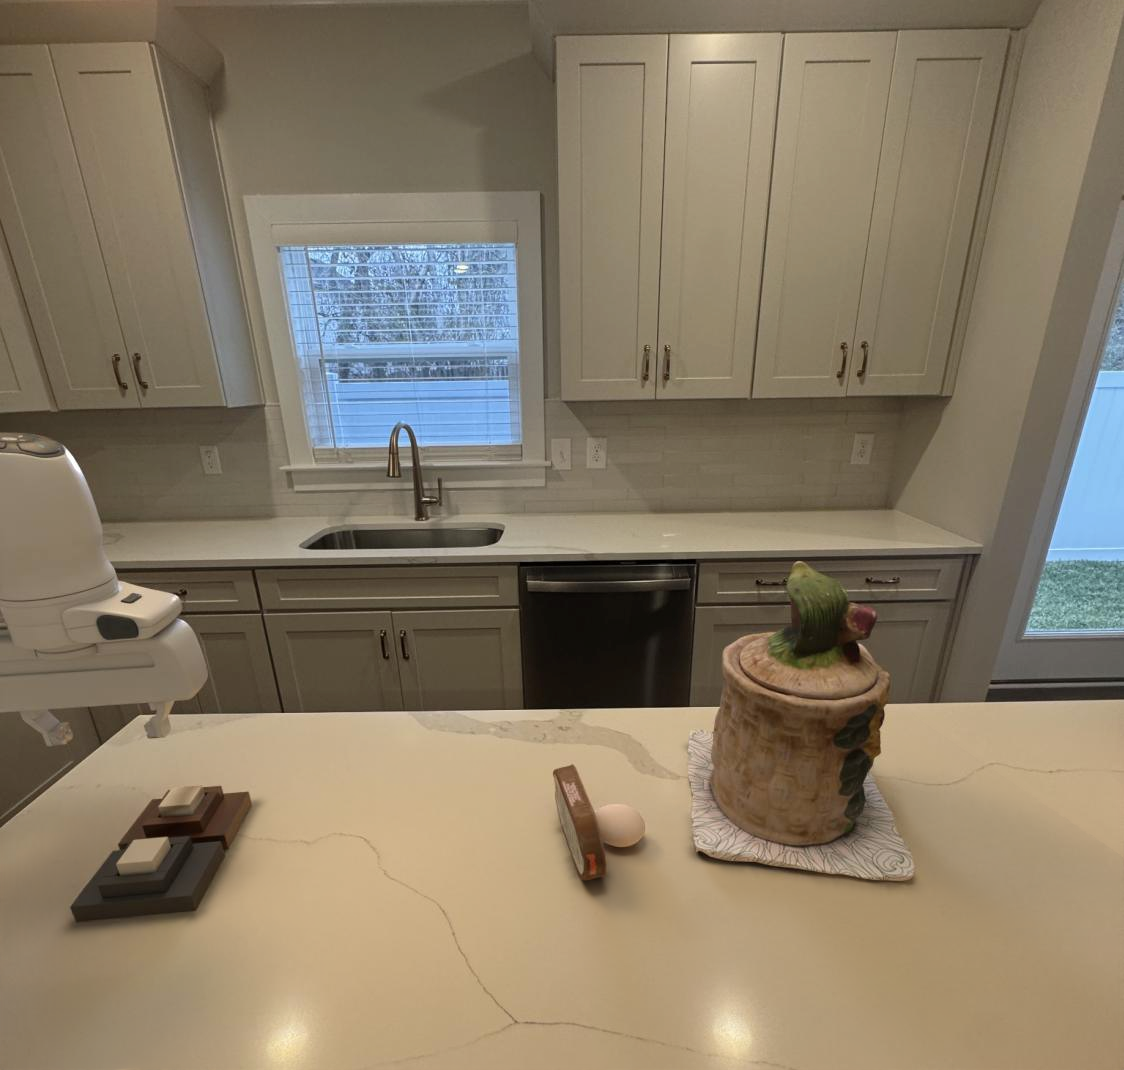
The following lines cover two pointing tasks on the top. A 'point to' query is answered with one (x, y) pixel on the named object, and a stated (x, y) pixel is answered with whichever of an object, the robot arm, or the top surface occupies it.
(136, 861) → the key
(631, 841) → the egg
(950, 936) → the top surface
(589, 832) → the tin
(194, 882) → the dark grey stepped block
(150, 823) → the brown push button base
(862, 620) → the cookie jar
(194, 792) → the key
